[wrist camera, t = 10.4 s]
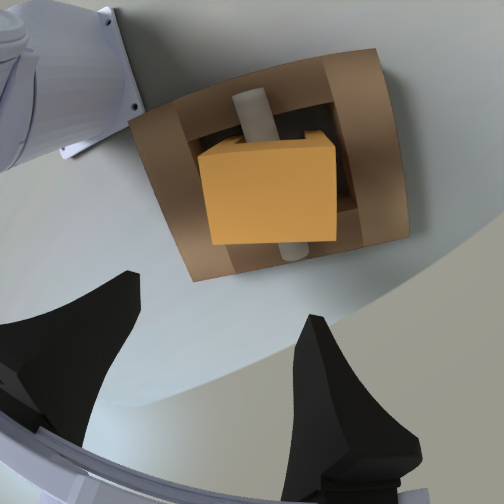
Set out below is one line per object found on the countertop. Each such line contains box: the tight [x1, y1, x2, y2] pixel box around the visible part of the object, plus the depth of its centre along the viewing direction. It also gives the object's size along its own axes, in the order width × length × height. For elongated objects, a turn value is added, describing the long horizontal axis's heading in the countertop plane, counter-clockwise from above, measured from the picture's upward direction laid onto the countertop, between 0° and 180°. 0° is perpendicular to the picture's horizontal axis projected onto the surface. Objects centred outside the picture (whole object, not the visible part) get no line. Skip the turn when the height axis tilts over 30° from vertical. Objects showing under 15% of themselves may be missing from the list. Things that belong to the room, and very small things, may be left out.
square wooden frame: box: [127, 48, 410, 282], centre depth 16 cm, size 11×14×5 cm
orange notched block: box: [198, 130, 337, 245], centre depth 15 cm, size 4×5×6 cm
